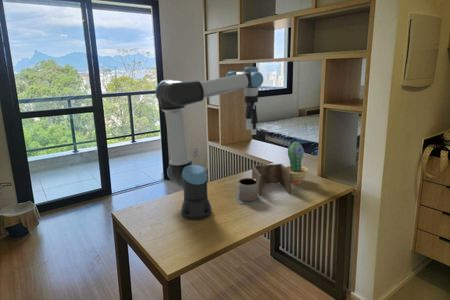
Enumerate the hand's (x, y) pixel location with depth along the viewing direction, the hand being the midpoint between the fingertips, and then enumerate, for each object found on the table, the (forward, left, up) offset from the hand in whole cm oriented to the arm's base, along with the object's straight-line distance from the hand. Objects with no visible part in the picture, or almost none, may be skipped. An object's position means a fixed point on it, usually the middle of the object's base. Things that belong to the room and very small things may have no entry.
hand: (251, 132), depth 183 cm
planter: (-6, -20, -32) cm, 39 cm away
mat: (-6, -20, -33) cm, 39 cm away
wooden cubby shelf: (+10, -8, -33) cm, 35 cm away
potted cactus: (+28, 0, -33) cm, 43 cm away
